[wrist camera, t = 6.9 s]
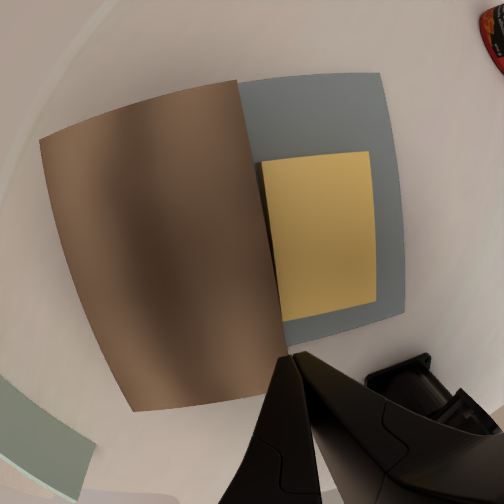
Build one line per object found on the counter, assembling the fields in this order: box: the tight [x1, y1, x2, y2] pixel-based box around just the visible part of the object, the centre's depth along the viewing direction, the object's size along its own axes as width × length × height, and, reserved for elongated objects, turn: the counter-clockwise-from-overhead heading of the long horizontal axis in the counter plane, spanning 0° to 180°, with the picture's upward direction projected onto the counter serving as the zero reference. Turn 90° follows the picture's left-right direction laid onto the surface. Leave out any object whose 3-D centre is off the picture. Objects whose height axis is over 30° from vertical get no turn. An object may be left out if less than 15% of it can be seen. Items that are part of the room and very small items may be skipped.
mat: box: [237, 73, 405, 346], centre depth 18 cm, size 10×17×1 cm, turn 11°
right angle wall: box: [0, 375, 96, 503], centre depth 18 cm, size 12×12×8 cm
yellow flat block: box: [257, 151, 376, 322], centre depth 18 cm, size 6×9×2 cm, turn 8°
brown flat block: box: [39, 80, 288, 412], centre depth 17 cm, size 11×18×3 cm, turn 11°
